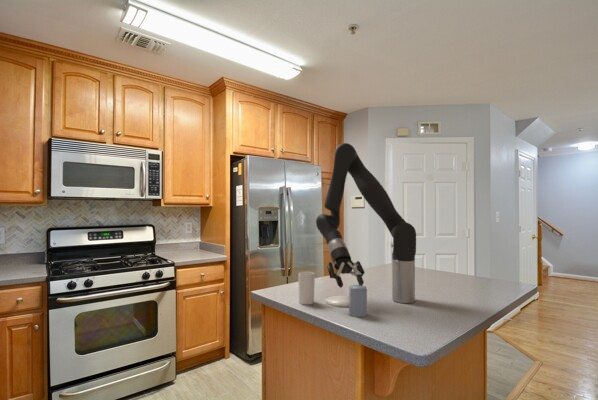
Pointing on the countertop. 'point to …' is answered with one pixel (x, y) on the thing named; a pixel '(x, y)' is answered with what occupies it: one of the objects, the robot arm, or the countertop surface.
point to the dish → (338, 301)
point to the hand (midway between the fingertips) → (351, 285)
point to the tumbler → (357, 301)
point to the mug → (306, 287)
